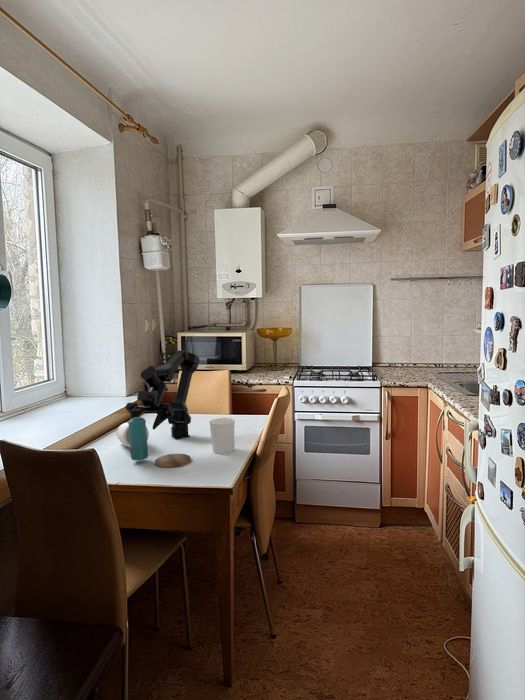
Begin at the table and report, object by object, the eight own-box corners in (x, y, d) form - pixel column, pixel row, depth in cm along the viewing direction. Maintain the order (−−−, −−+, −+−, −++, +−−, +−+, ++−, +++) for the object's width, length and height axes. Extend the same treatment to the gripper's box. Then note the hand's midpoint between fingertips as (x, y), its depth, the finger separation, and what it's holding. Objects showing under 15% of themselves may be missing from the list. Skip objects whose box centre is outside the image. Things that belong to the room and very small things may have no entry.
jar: (126, 449, 201) (136, 454, 189) (108, 434, 198) (117, 438, 185) (143, 430, 206) (154, 433, 193) (125, 415, 202) (136, 417, 189)
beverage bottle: (152, 461, 175) (148, 408, 173) (136, 466, 170) (133, 412, 168) (142, 457, 179) (139, 406, 178) (127, 462, 175) (123, 409, 173)
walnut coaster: (182, 453, 182) (182, 451, 182) (196, 462, 171) (196, 460, 171) (150, 460, 175) (150, 458, 175) (162, 470, 164) (161, 467, 164)
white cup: (226, 456, 177) (224, 425, 176) (206, 452, 183) (204, 422, 181) (240, 448, 186) (239, 419, 184) (221, 445, 191) (219, 416, 190)
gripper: (126, 382, 183) (111, 416, 174) (168, 382, 178) (155, 418, 168) (138, 398, 191) (124, 431, 182) (179, 399, 186) (167, 433, 176)
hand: (142, 428), depth 177 cm, fingers open, 9 cm apart
